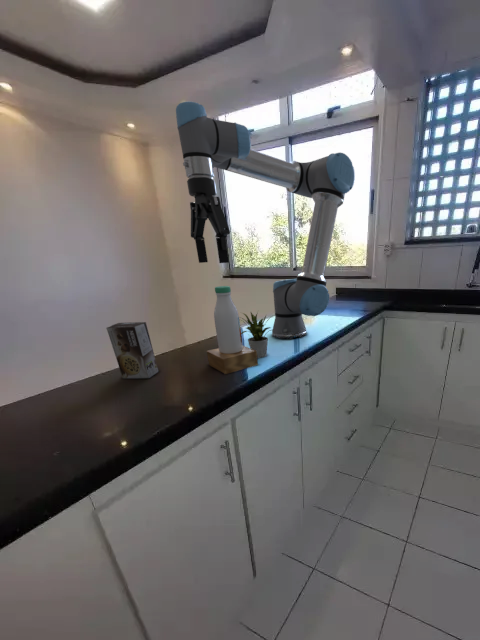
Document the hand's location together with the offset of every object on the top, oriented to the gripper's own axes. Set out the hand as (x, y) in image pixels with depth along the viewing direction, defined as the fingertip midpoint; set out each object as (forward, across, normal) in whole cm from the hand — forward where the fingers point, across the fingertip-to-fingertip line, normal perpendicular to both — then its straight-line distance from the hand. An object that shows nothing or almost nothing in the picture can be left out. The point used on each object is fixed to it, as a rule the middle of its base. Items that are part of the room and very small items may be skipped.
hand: (213, 262), depth 95 cm
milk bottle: (+27, +6, -2) cm, 27 cm away
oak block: (+31, +6, -2) cm, 32 cm away
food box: (+31, -8, -27) cm, 42 cm away
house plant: (+32, +3, +10) cm, 33 cm away
